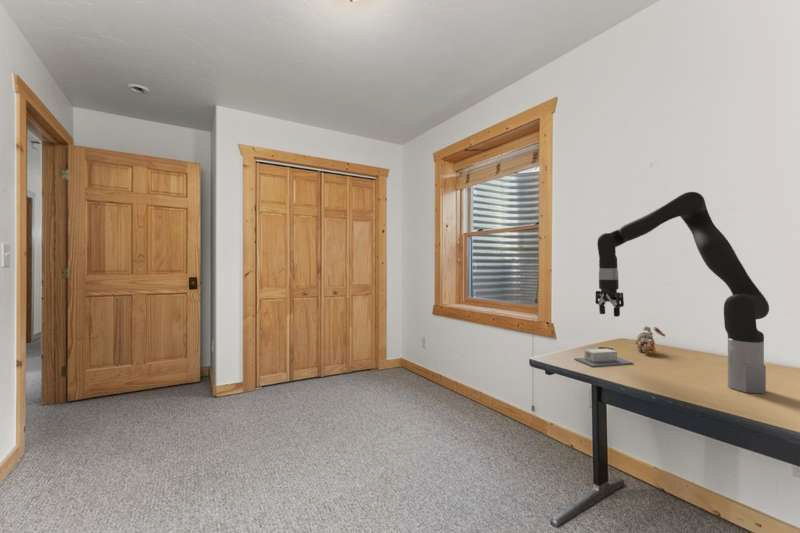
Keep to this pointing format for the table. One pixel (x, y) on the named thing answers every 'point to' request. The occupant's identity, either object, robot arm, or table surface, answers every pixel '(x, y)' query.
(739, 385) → the robot arm
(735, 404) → the table surface
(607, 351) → the skincare box
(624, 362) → the slate mat
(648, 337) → the voxel character
